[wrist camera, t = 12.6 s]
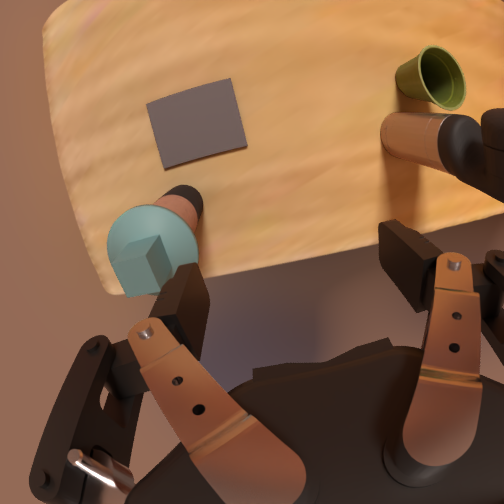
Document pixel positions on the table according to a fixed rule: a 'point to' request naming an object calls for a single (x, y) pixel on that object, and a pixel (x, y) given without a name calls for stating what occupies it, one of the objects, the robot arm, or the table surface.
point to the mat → (197, 123)
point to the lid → (149, 248)
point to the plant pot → (433, 78)
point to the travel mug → (183, 203)
